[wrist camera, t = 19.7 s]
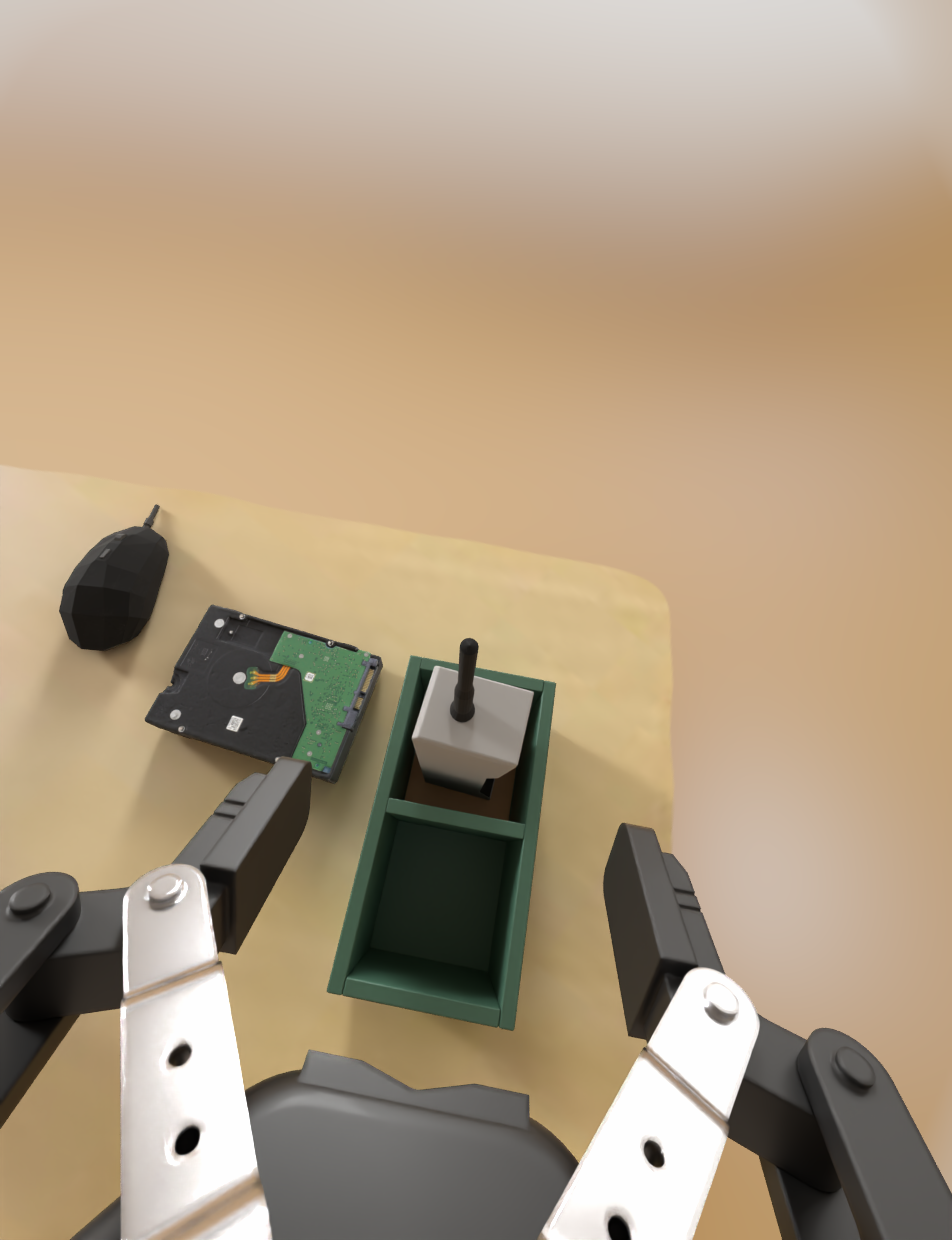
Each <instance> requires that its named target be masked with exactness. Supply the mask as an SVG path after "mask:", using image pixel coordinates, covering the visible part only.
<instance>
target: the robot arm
mask: <svg viewBox="0 0 952 1240" xmlns="http://www.w3.org/2000/svg"><path fill="white" fill-rule="evenodd" d="M311 777H312V764H311V762H310V761H305V760H300V759H294V758H289V757H284V756H282V757H280V758H279V759H278V760H277V762H276V763H275V764H274V766H273V767H272V768H271V770H270V771H269V772H268V774H267V775H266V774H261V773H256V772H255V773H253V774H252V775H250V776H249V777H247V778H245V779H244V780H242V781H241V782H239V783H237V784H236V785H235V786H234V788H233V789H232V790H231V791H230V793H229V794H228V795H227V796H226V797H225V799H224V802H221V804H220V805H219V806H218V807H217V809H216V810H215V811H214V814H213V815H211V816H210V817H209V818H208V820H207V821H206V822H205V823H204V825H203V826H202V827H201V828H200V829H199V831H198V832H197V833H196V834H195V836H194V837H193V838H192V839H191V840H190V842H189V843H188V844H187V845H186V847H185V848H184V849H183V850H182V852H181V853H180V854H179V855H178V856H177V858H176V859H175V860H174V861H173V862H172V864H170V865H165V866H162V867H159V868H156V869H154V870H151V871H149V872H148V873H146V874H144V875H143V876H141V877H140V878H139V879H137V880H136V881H135V882H134V883H133V884H132V885H131V887H127V888H120V889H110V890H98V891H87V892H79V887H78V883H77V881H76V880H75V879H74V878H73V877H72V876H70V875H68V874H65V873H61V872H46V873H40V874H36V875H32V876H29V877H26V878H24V879H21V880H19V881H17V882H15V883H13V884H11V885H9V886H8V887H6V888H4V889H3V890H2V891H0V1129H1V1127H2V1126H3V1125H4V1123H5V1122H6V1120H7V1119H8V1117H9V1116H10V1114H11V1113H12V1112H13V1110H14V1109H15V1107H16V1106H17V1104H18V1103H19V1102H20V1100H21V1099H22V1097H23V1096H24V1094H25V1093H26V1092H27V1090H28V1089H29V1087H30V1086H31V1084H32V1083H33V1081H34V1080H35V1079H36V1077H37V1076H38V1074H39V1073H40V1071H41V1070H42V1069H43V1067H44V1066H45V1064H46V1063H47V1061H48V1060H49V1058H50V1057H51V1056H52V1054H53V1053H54V1051H55V1050H56V1048H57V1047H58V1046H59V1044H60V1043H61V1041H62V1040H63V1038H64V1037H65V1036H66V1034H67V1033H68V1031H69V1030H70V1028H71V1027H72V1025H73V1024H74V1023H75V1021H76V1020H77V1018H78V1017H79V1015H80V1014H85V1013H92V1012H98V1011H105V1010H112V1009H119V1008H120V1088H121V1196H120V1197H118V1198H117V1199H116V1200H115V1201H114V1202H113V1203H111V1204H110V1205H109V1206H108V1207H107V1208H106V1209H105V1210H103V1211H102V1212H101V1213H100V1214H99V1215H98V1216H96V1217H95V1218H94V1219H93V1220H92V1221H91V1222H90V1223H88V1224H87V1225H86V1226H85V1227H84V1228H83V1229H81V1230H80V1231H79V1232H78V1233H77V1234H76V1235H74V1236H73V1237H72V1238H71V1239H70V1240H692V1239H693V1236H694V1233H695V1230H696V1227H697V1224H698V1221H699V1218H700V1215H701V1213H702V1209H703V1207H704V1204H705V1201H706V1198H707V1195H708V1192H709V1189H710V1186H711V1183H712V1180H713V1178H714V1174H715V1172H716V1169H717V1165H718V1163H719V1160H720V1157H721V1154H722V1151H723V1148H724V1145H725V1142H726V1139H727V1137H728V1138H730V1139H732V1140H733V1141H735V1142H737V1143H738V1144H740V1145H742V1146H744V1147H745V1148H747V1149H749V1150H750V1151H752V1152H754V1153H755V1154H757V1155H759V1159H760V1162H761V1166H762V1169H763V1173H764V1177H765V1180H766V1183H767V1187H768V1191H769V1194H770V1197H771V1201H772V1205H773V1208H774V1212H775V1216H776V1219H777V1223H778V1226H779V1229H780V1233H781V1237H782V1240H952V1193H951V1192H950V1190H949V1188H948V1186H947V1184H946V1182H945V1180H944V1178H943V1176H942V1174H941V1172H940V1170H939V1168H938V1167H937V1165H936V1163H935V1161H934V1159H933V1157H932V1155H931V1153H930V1151H929V1149H928V1147H927V1146H926V1144H925V1142H924V1140H923V1138H922V1136H921V1134H920V1132H919V1130H918V1128H917V1127H916V1124H915V1123H914V1121H913V1119H912V1117H911V1115H910V1113H909V1111H908V1109H907V1107H906V1105H905V1103H904V1102H903V1100H902V1098H901V1096H900V1094H899V1092H898V1090H897V1088H896V1086H895V1084H894V1082H893V1081H892V1079H891V1077H890V1076H889V1074H888V1073H887V1071H886V1070H885V1068H884V1067H883V1066H882V1064H881V1063H880V1062H879V1061H878V1060H877V1059H876V1057H874V1055H873V1054H872V1053H871V1052H869V1051H868V1050H867V1049H866V1048H865V1047H864V1046H862V1045H861V1044H860V1043H859V1042H857V1041H856V1040H854V1039H853V1038H851V1037H850V1036H848V1035H846V1034H844V1033H842V1032H840V1031H837V1030H834V1029H829V1028H819V1029H816V1030H815V1031H813V1032H812V1033H811V1035H810V1036H809V1038H808V1039H807V1040H806V1039H803V1038H802V1037H800V1036H798V1035H796V1034H794V1033H792V1032H790V1031H788V1030H786V1029H784V1028H782V1027H780V1026H778V1025H776V1024H774V1023H772V1022H770V1021H768V1020H767V1019H765V1018H763V1017H762V1016H761V1015H759V1014H758V1013H757V1011H756V1009H755V1007H754V1005H753V1003H752V1001H751V1000H750V998H749V997H748V995H747V994H746V993H745V992H744V990H743V989H742V988H741V987H740V986H739V985H738V984H737V983H735V982H734V981H733V980H732V979H730V978H729V977H727V976H726V975H725V972H724V970H723V967H722V965H721V962H720V959H719V956H718V954H717V951H716V949H715V946H714V943H713V940H712V938H711V935H710V932H709V929H708V927H707V924H706V921H705V919H704V916H703V913H701V912H700V909H701V908H700V906H699V903H698V900H697V897H696V896H695V895H694V893H695V892H694V889H693V887H692V884H691V881H690V878H689V876H688V873H687V872H686V871H685V869H684V868H683V867H682V865H681V864H680V863H679V862H678V860H677V859H676V858H675V856H674V855H673V854H669V853H663V852H661V849H660V846H659V843H658V840H657V837H656V834H655V831H654V830H653V829H652V828H647V827H642V826H637V825H632V824H627V823H622V824H621V825H620V827H619V829H618V832H617V835H616V838H615V841H614V844H613V847H612V850H611V853H610V856H609V859H608V862H607V865H606V868H605V873H604V882H603V891H604V899H605V905H606V910H607V916H608V922H609V928H610V933H611V939H612V945H613V951H614V956H615V962H616V968H617V974H618V979H619V985H620V991H621V997H622V1002H623V1008H624V1014H625V1020H626V1025H627V1031H628V1036H630V1037H635V1038H640V1039H645V1040H646V1041H647V1046H646V1048H645V1047H644V1048H643V1050H642V1051H641V1053H640V1055H639V1056H638V1058H637V1060H636V1062H635V1063H634V1065H633V1067H632V1069H631V1071H630V1073H629V1074H628V1076H627V1078H626V1080H625V1082H624V1083H623V1085H622V1087H621V1089H620V1091H619V1092H618V1094H617V1096H616V1098H615V1100H614V1101H613V1103H612V1105H611V1107H610V1109H609V1110H608V1112H607V1114H606V1116H605V1118H604V1119H603V1121H602V1123H601V1125H600V1127H599V1128H598V1130H597V1132H596V1134H595V1136H594V1138H593V1139H592V1141H591V1143H590V1145H589V1147H588V1148H587V1150H586V1152H585V1154H584V1156H583V1157H582V1159H581V1161H580V1163H578V1161H577V1160H576V1159H575V1157H574V1156H573V1155H572V1153H571V1152H570V1151H569V1150H568V1149H567V1148H566V1146H565V1145H564V1144H563V1143H562V1142H561V1141H560V1140H559V1139H558V1138H557V1137H556V1136H555V1135H554V1134H553V1133H551V1132H550V1131H549V1130H548V1129H546V1128H545V1127H544V1126H542V1125H541V1124H540V1123H538V1122H537V1121H535V1120H533V1119H532V1118H530V1117H529V1095H527V1094H522V1093H517V1092H512V1091H507V1090H502V1089H497V1088H493V1087H488V1086H483V1085H478V1084H468V1085H460V1086H451V1087H442V1088H433V1089H425V1090H416V1089H412V1088H410V1087H408V1086H407V1085H405V1084H403V1083H401V1082H399V1081H398V1080H396V1079H394V1078H392V1077H391V1076H389V1075H387V1074H385V1073H384V1072H382V1071H380V1070H378V1069H376V1068H375V1067H373V1066H371V1065H369V1064H368V1063H366V1062H364V1061H362V1060H357V1059H352V1058H347V1057H342V1056H338V1055H333V1054H328V1053H323V1052H318V1051H313V1050H309V1051H308V1054H307V1056H306V1059H305V1062H304V1065H303V1068H302V1070H295V1071H290V1072H286V1073H282V1074H278V1075H275V1076H273V1077H270V1078H268V1079H265V1080H263V1081H261V1082H259V1083H257V1084H255V1085H254V1086H252V1087H250V1088H248V1089H247V1090H245V1091H244V1086H243V1080H242V1075H241V1069H240V1063H239V1057H238V1051H237V1045H236V1040H235V1034H234V1028H233V1022H232V1016H231V1010H230V1005H229V999H228V993H227V987H226V981H225V975H224V970H223V966H222V962H221V961H219V960H218V953H219V951H220V952H225V953H230V954H235V955H236V954H237V952H238V950H239V948H240V946H241V945H242V943H243V941H244V939H245V937H246V936H247V934H248V932H249V930H250V928H251V926H252V925H253V923H254V921H255V919H256V917H257V916H258V914H259V912H260V910H261V908H262V906H263V905H264V903H265V901H266V899H267V897H268V895H269V894H270V892H271V890H272V888H273V886H274V885H275V883H276V881H277V879H278V877H279V875H280V874H281V872H282V870H283V868H284V866H285V865H286V863H287V861H288V859H289V857H290V855H291V854H292V852H293V850H294V848H295V846H296V845H297V843H298V841H299V839H300V837H301V835H302V833H303V831H304V829H305V826H306V823H307V819H308V815H309V809H310V793H311Z"/></svg>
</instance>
